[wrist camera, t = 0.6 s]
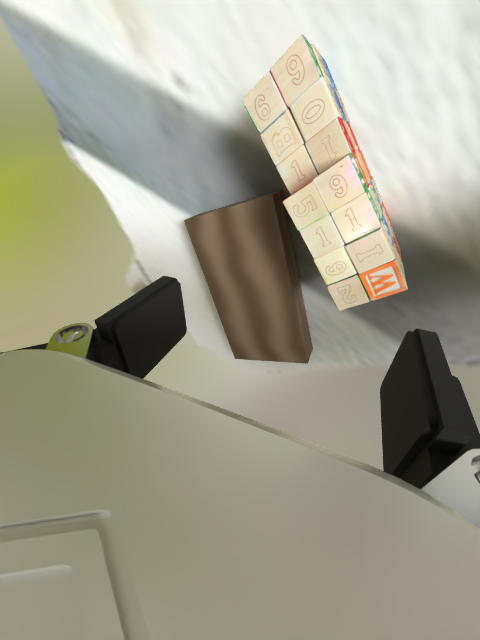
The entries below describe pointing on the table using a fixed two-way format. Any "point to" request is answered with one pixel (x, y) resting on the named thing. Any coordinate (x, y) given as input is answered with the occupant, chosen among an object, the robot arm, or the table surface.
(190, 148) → the table surface
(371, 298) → the stack of blocks
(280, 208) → the plinth
